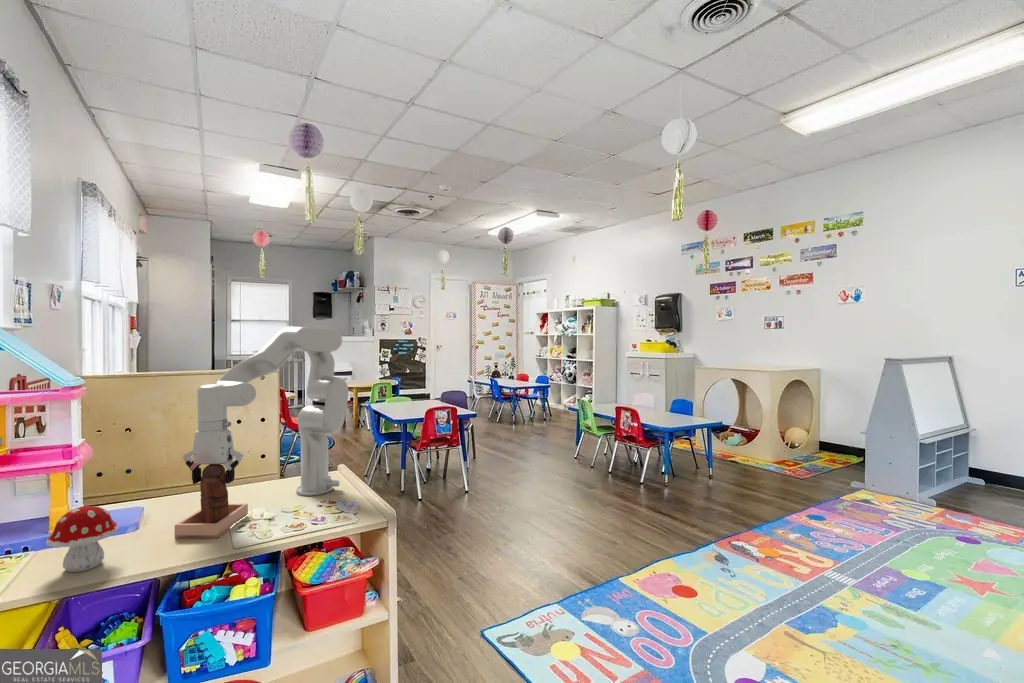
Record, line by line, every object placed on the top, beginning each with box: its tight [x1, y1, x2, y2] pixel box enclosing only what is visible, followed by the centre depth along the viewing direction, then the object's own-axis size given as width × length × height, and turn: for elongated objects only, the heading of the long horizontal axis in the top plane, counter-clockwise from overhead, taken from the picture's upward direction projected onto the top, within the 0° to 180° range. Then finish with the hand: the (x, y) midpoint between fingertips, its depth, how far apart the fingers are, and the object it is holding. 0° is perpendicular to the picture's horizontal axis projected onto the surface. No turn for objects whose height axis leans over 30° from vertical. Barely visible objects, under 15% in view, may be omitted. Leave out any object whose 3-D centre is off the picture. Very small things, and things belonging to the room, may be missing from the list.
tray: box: [174, 503, 249, 540], centre depth 148 cm, size 12×17×4 cm
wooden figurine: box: [199, 464, 229, 523], centre depth 149 cm, size 12×6×18 cm, turn 46°
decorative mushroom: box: [45, 505, 119, 573], centre depth 123 cm, size 14×14×15 cm
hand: (213, 482), depth 148 cm, fingers open, 9 cm apart
